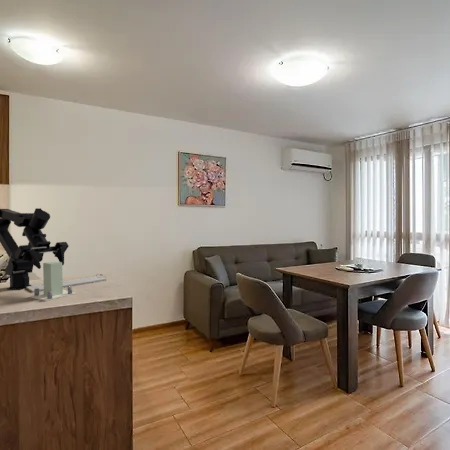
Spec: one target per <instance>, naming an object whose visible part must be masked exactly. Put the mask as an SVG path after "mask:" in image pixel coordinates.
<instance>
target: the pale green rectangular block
mask: <svg viewBox="0 0 450 450" xmlns="http://www.w3.org/2000/svg"><path fill="white" fill-rule="evenodd" d="M42 266H43V267H42V268H43V269H42V270H43V271H42V272H43V273H42V274H43V277H42V278H43V284H44V291H43V293H44V295H47V292H48V291H52V296H56V295H60V294H63V290H64V289H63V283H62V281H63V265H62V262H59V261H54V260H53V261H50V262H48V261H47V262H43V263H42Z"/></svg>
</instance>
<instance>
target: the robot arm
mask: <svg viewBox="0 0 450 450" xmlns="http://www.w3.org/2000/svg"><path fill="white" fill-rule="evenodd" d="M50 219H51V215H50V213H49V212H47V211H45V210H43V209H42V208H41V207H40V208H39V207H38V208H35V210H34V212H30V213H29V212H19V211H15V210H12V209H9V208H0V245H1V246H2V247H3V249H4V251H5V253H6V254H7V256H8V258H9V259H8V261H7V265H6V267H5V269H4V271H5V272H4V273H5V275H6V276H9V286H8V287H7V288H6V289H7V290H23V289H26V287H28V286H32V284H30V276H29V273H33V269H34V267H36V268H37V269H38V270H41V268H42V265H41V262H42V261H43V258H44V254H46V253H52V255H54V257H56V259H57V260H58V262H62V266H64V265H65V252H66V251H67V250H68V248H69V246H70V245H69V244H68V242H67V241H59V242H56V243H55V244H54V246H51V241H50V240H49V241H48V240H47V238H46V237H47V234H46V233H43V231H42V229H44V228H46V225H47V223H48V222H49V220H50ZM12 222H13V225H14V226H15V227H16V226H17V228H23V230H22V234H21V237H26V238H27V241H28V243H27V244H24V245H22V244H20V245H19V246H18V244H17V242H16V240H15V239H14V238H13V236H12V234H11V232H10V231H9V227H10V225H11V223H12Z"/></svg>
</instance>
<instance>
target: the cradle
mask: <svg viewBox="0 0 450 450" xmlns="http://www.w3.org/2000/svg"><path fill="white" fill-rule="evenodd" d="M33 293H34V295H30V298H31V299H35V300H40V301H43V302H48V301H53V300H56V299H60V298H65V297H68V296H72V295H76V294H77V293H76V292H75V291H73V286H70V287H67V290H65V289H63V294H60V295H56V296H52V291H48V292H47V295H44V292H43V293H40V291H39V288H36V289H34V292H33Z"/></svg>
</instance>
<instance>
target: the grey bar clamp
mask: <svg viewBox="0 0 450 450" xmlns="http://www.w3.org/2000/svg"><path fill="white" fill-rule="evenodd" d="M100 281H101V282H105V281H106V282H107V277H103V274H99V275H98V274H96V275H94V276H90V277H84V278H83V277H82V278H76V279H69V280H62V283H63V287H64V288H68V287H69V286H70V287H75V286H80V285H81V286H82V285H87V284H93V283H94V282H95V283H100ZM95 283H94V284H95ZM36 288H39V292H44V283H43V284H36V285H31V286H28V287H26V288H25V289H26V290H27V291H29V292H30V293H32V294H33V293H34V289H36Z"/></svg>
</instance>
